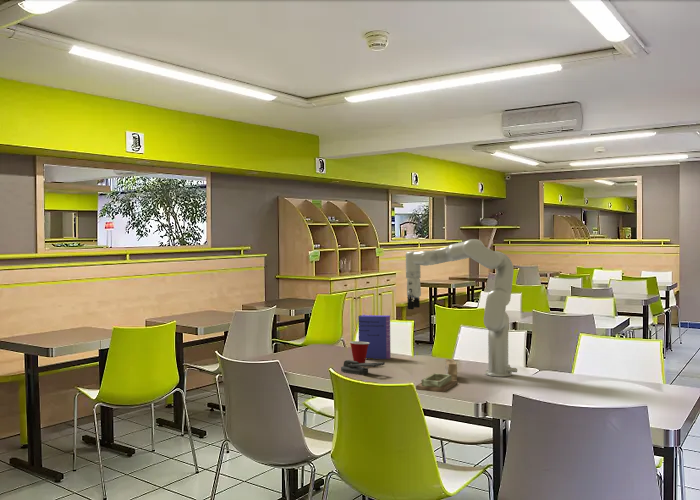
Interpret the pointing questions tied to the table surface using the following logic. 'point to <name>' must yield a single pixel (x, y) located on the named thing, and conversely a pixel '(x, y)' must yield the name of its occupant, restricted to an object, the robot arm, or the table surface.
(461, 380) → the table surface
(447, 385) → the notch board
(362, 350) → the plastic cup
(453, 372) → the tan rectangular block
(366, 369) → the dark grey long piece
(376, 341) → the cereal box
